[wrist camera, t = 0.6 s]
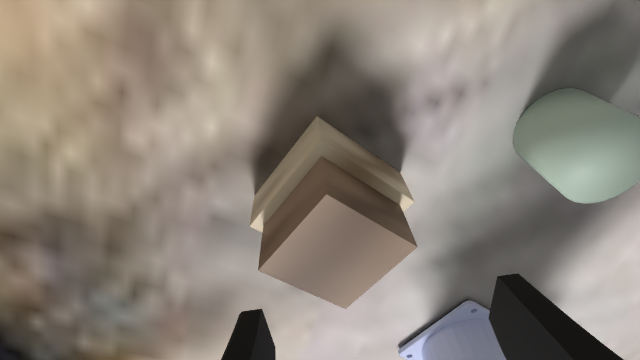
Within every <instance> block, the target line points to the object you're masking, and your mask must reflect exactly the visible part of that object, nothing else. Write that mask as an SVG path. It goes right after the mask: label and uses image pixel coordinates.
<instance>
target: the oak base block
mask: <svg viewBox="0 0 640 360" xmlns="http://www.w3.org/2000/svg"><path fill="white" fill-rule="evenodd" d="M321 156H322V157H324V158H325V159H327V160H329V161H330V162H332V163H333V164H335V165H337V166H338V167H340V168H341V169H343V170H345V171H346V172H348V173H349V174H351V175H353V176H354V177H356V178H357V179H359V180H361V181H362V182H364V183H365V184H367V185H369V186H370V187H372V188H373V189H375V190H377V191H378V192H380V193H381V194H383V195H385V196H386V197H388V198H389V199H391V200H393V201H394V202H396V203H397V204H399V205H400V206H401V208H402V211H403V212H404V211H405V210H406V209H407V208H408V207H409V206H410V205H411V204H412V203H414V200H413V198H412V196H411V194H410V192H409V190H408V188H407V186H406V183H405V181H404V179H403V177H402V175H401V173H399V172H398V171H396V170H395V169H394V168H392V167H391V166H389V165H388V164H386V163H385V162H383V161H382V160H380V159H379V158H377V157H376V156H375V155H373V154H372V153H370V152H369V151H367V150H366V149H364V148H363V147H361V146H360V145H358V144H357V143H356V142H354V141H353V140H351V139H350V138H348V137H347V136H345V135H344V134H342V133H341V132H339V131H338V130H337V129H335V128H334V127H332V126H331V125H329V124H328V123H326V122H325V121H323V120H322V119H320V118H319V117H318V116H317V117H316V118H315V119H314V120H313V122H312V123H311V124H310V125H309V127H308V128H307V129H306V131H305V132H304V133H303V134H302V136H301V137H300V138H299V139H298V141H297V142H296V143H295V145H294V146H293V147H292V148H291V150H290V151H289V152H288V153H287V155H286V156H285V157H284V159H283V160H282V161H281V162H280V164H279V165H278V166H277V167H276V169H275V170H274V171H273V173H272V174H271V175H270V176H269V178H268V179H267V180H266V181H265V183H264V184H263V185H262V187H261V188H260V189H259V190H258V192H257V193H256V194H255V196H254V202H253V209H252V215H251V221H250V227H252V228H254V229H256V230H258V231H260V232H263V226H264V225H265V223H266V222H267V221H268V220H269V219H270V217H271V216H272V215H273V214H274V213H275V211H276V210H277V209H278V208H279V207H280V205H281V204H282V203H283V202H284V201H285V199H286V198H287V197H288V196H289V195H290V193H291V192H292V191H293V190H294V188H295V187H296V186H297V185H298V184H299V182H300V181H301V180H302V179H303V178H304V176H305V175H306V174H307V173H308V172H309V170H310V169H311V168H312V167H313V166H314V164H315V163H316V162H317V161H318V160H319V158H320V157H321Z"/></svg>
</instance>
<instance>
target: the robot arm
mask: <svg viewBox="0 0 640 360" xmlns="http://www.w3.org/2000/svg"><path fill="white" fill-rule="evenodd" d="M398 352H399V356H400V357H402V358H405V359H407V360H623V359H622V358H621V357H619V356H618V355H617V354H615V353H614V352H613V351H611V350H610V349H609V348H607V347H606V346H605V345H604V344H602V343H601V342H600V341H599V340H597V339H596V338H595V337H594V336H592V335H591V334H590V333H589V332H587V331H586V330H585V329H584V328H582V327H581V326H580V325H579V324H577V323H576V322H575V321H574V320H572V319H571V318H570V317H569V316H568V315H566V314H565V313H564V312H563V311H562V310H560V309H559V308H558V307H557V306H556V305H554V304H553V303H552V302H551V301H550V300H548V299H547V298H546V297H545V296H544V295H543V294H541V293H540V292H539V291H538V290H537V289H536V288H534V287H533V286H532V285H531V284H530V283H529V282H527V281H526V280H525V279H524V278H523V277H521V276H520V275H519V274H511V275H504V276H498V277H497V281H496V286H495V290H494V295H493V300H492V304H491V309H490V310H488V309H486V308H485V307H483V306H481V305H479V304H477V303H475V302H473V301H465V302H464V303H462V304H461V305H459V306H458V307H457V308H455V309H454V310H453V311H451V312H450V313H448V314H447V315H446V316H444V317H443V318H441V319H440V320H439V321H437V322H436V323H435V324H433V325H432V326H430V327H429V328H428V329H426V330H425V331H423V332H422V333H421V334H419V335H418V336H417V337H415V338H414V339H412V340H411V341H410V342H408V343H407V344H405V345H404V346H403V347H401V348H400V349H399V350H398ZM221 360H275V345H274V342H273V339H272V337H271V334H270V331H269V328H268V325H267V322H266V319H265V316H264V314H263V311H262V309H257V310H250V311H243V312H241V313H240V315H239V317H238V320H237V323H236V325H235V328H234V330H233V333H232V335H231V338H230V340H229V343H228V345H227V347H226V350H225V352H224V354H223V357H222V359H221Z"/></svg>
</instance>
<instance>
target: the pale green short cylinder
mask: <svg viewBox="0 0 640 360" xmlns="http://www.w3.org/2000/svg"><path fill="white" fill-rule="evenodd" d="M513 146H514V149H515V151H516V152H517V154H518V155H519V156H520V157H521V158H522V159H523V160H524V161H526V162H527V163H528V164H529V165H530V166H531V167H532V168H533V169H535V170H536V171H537V172H538V173H539V174H540V175H541V176H542V177H544V178H545V179H546V180H547V181H548V182H549V183H550V184H551V185H552V186H554V187H555V188H556V189H557V190H558V191H559V192H560V193H561V194H563V195H564V196H565V197H566V198H567V199H569V200H571V201H573V202H577V203H596V202H601V201H605V200H608V199H610V198H613V197H615V196H617V195H619V194H621V193H623V192H625V191H626V190H628V189H629V188H631V187H632V186H634V185H635V184H636V183H637V182H639V181H640V117H638V116H636V115H634V114H632V113H630V112H627V111H625V110H623V109H621V108H619V107H617V106H615V105H613V104H610V103H608V102H606V101H604V100H602V99H600V98H598V97H596V96H593V95H591V94H589V93H587V92H585V91H583V90H580V89H576V88H563V89H559V90H555V91H552V92H550V93H548V94H546V95H544V96H542V97H540V98H539V99H538V100H536V101H535V102H534V103H532V104H531V105H530V106H529V107H528V108H527V109H526V110H525V111H524V113H523V114H522V115H521V117H520V118H519V120H518V122H517V124H516V126H515V129H514V133H513Z"/></svg>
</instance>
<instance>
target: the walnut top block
mask: <svg viewBox="0 0 640 360" xmlns="http://www.w3.org/2000/svg"><path fill="white" fill-rule="evenodd" d="M416 248H417V244H416V242H415V240H414V237H413V235H412V232H411V230H410V228H409V225H408V223H407V220H406V218H405V216H404V213H403V211H402V208H401V206H400V205H399V204H397V203H396V202H394V201H393V200H391V199H389V198H388V197H386V196H385V195H383V194H381V193H380V192H378V191H377V190H375V189H373V188H372V187H370V186H369V185H367V184H365V183H364V182H362V181H361V180H359V179H357V178H356V177H354V176H353V175H351V174H349V173H348V172H346V171H345V170H343V169H341V168H340V167H338V166H337V165H335V164H333V163H332V162H330V161H329V160H327V159H325V158H324V157H322V156H321V157H320V158H319V160H318V161H317V162H316V163H315V164H314V166H313V167H312V168H311V169H310V170H309V172H308V173H307V174H306V175H305V176H304V178H303V179H302V180H301V181H300V182H299V184H298V185H297V186H296V187H295V188H294V190H293V191H292V192H291V193H290V195H289V196H288V197H287V198H286V199H285V201H284V202H283V203H282V204H281V205H280V207H279V208H278V209H277V210H276V211H275V213H274V214H273V215H272V216H271V217H270V219H269V220H268V221H267V222H266V223H265V225H264V226H263V232H262V241H261V250H260V259H259V267H258V271H260V272H262V273H265V274H267V275H269V276H272V277H274V278H276V279H278V280H281V281H283V282H285V283H288V284H290V285H292V286H294V287H297V288H299V289H301V290H304V291H306V292H308V293H310V294H313V295H315V296H317V297H320V298H322V299H324V300H326V301H329V302H331V303H333V304H336V305H338V306H340V307H342V308H345V309H346V308H347V307H348V306H350V305H351V304H352V303H353V302H354V301H355V300H357V299H358V298H359V297H360V296H361V295H362V294H364V293H365V292H366V291H367V290H368V289H369V288H370V287H372V286H373V285H374V284H375V283H376V282H377V281H379V280H380V279H381V278H382V277H383V276H384V275H386V274H387V273H388V272H389V271H390V270H391V269H393V268H394V267H395V266H396V265H397V264H398V263H399V262H401V261H402V260H403V259H404V258H405V257H406V256H408V255H409V254H410V253H411V252H412V251H413V250H415V249H416Z"/></svg>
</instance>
